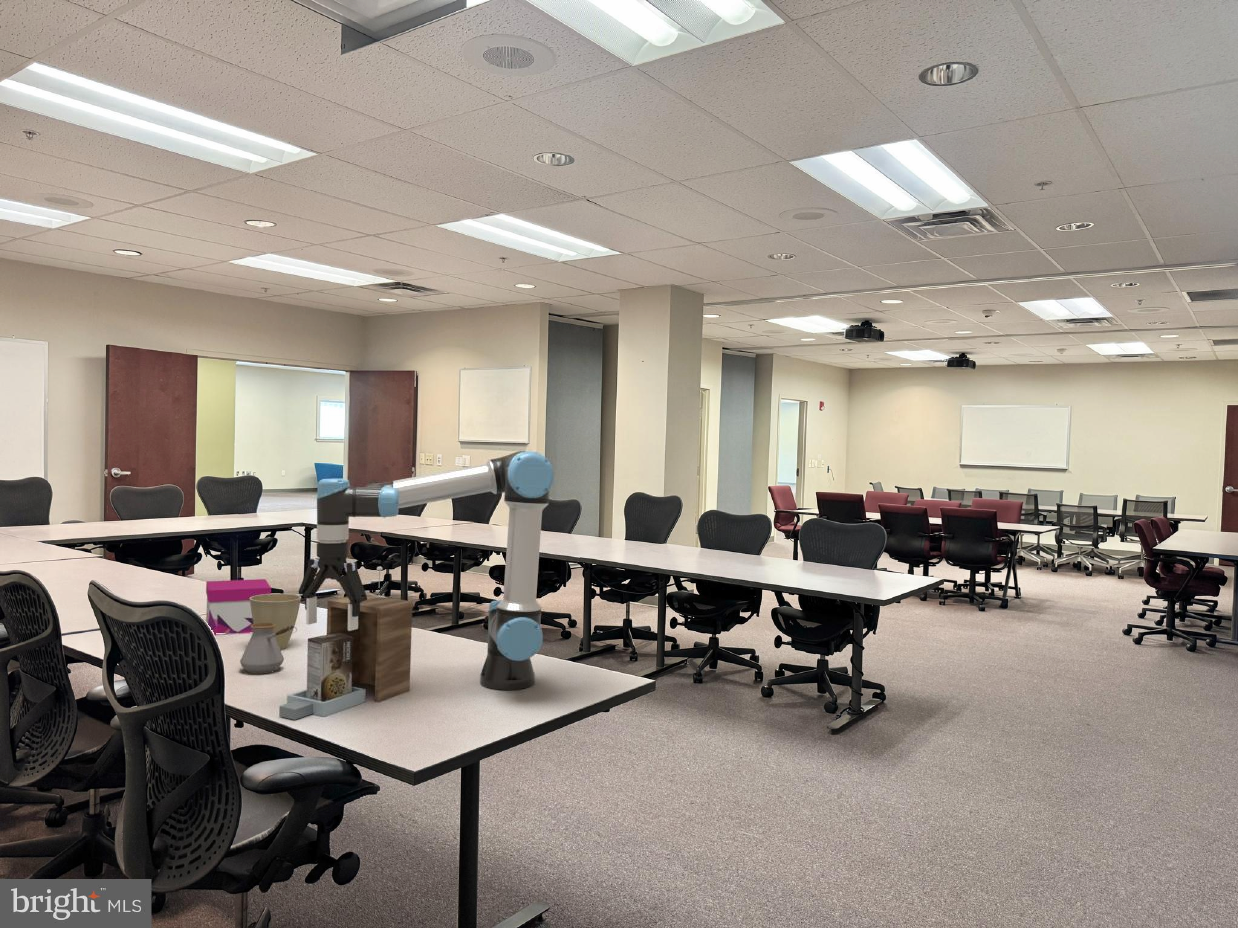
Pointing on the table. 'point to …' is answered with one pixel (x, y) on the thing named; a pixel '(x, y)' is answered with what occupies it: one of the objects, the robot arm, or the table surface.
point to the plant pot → (276, 613)
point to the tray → (319, 704)
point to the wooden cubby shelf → (377, 642)
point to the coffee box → (329, 666)
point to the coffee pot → (263, 649)
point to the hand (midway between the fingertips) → (331, 626)
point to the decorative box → (232, 604)
